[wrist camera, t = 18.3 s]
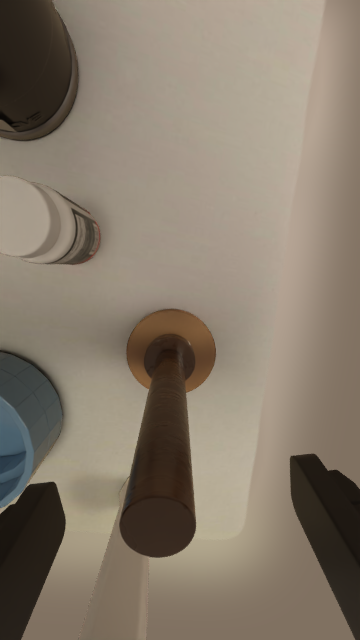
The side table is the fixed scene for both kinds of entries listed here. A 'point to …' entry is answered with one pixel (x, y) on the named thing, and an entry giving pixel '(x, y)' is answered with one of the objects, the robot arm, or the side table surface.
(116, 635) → the perfume bottle
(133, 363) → the coaster
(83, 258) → the pill bottle
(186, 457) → the brown wooden peg
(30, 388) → the bowl
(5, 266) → the side table surface
